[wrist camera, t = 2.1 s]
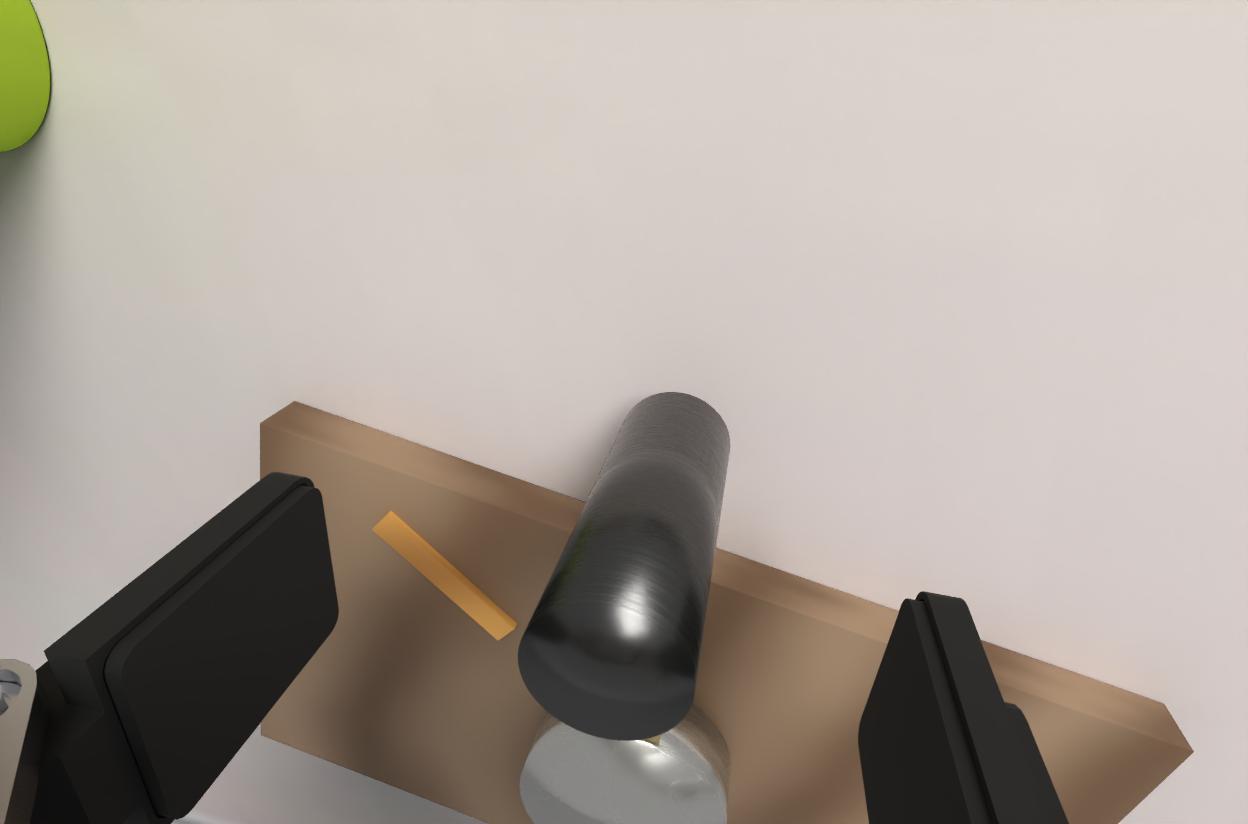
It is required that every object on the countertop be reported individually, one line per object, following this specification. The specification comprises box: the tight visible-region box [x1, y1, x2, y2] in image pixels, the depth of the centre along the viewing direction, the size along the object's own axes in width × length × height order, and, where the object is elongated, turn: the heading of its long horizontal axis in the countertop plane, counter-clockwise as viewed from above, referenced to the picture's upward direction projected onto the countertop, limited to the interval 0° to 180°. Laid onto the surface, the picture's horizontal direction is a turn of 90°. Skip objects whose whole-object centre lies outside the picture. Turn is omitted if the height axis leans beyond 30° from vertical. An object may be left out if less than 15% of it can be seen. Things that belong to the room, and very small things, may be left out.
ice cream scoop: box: [518, 392, 731, 824], centre depth 16 cm, size 15×6×7 cm, turn 175°
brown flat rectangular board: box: [260, 401, 1194, 824], centre depth 22 cm, size 26×14×2 cm, turn 75°
